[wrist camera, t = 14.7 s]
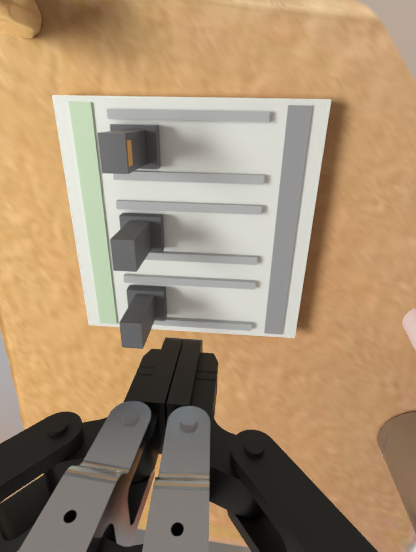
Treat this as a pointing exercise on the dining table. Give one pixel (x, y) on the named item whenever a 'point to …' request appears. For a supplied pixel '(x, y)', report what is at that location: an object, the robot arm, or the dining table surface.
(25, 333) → the dining table surface
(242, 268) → the panel
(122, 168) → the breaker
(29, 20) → the milkshake
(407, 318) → the smoothie
